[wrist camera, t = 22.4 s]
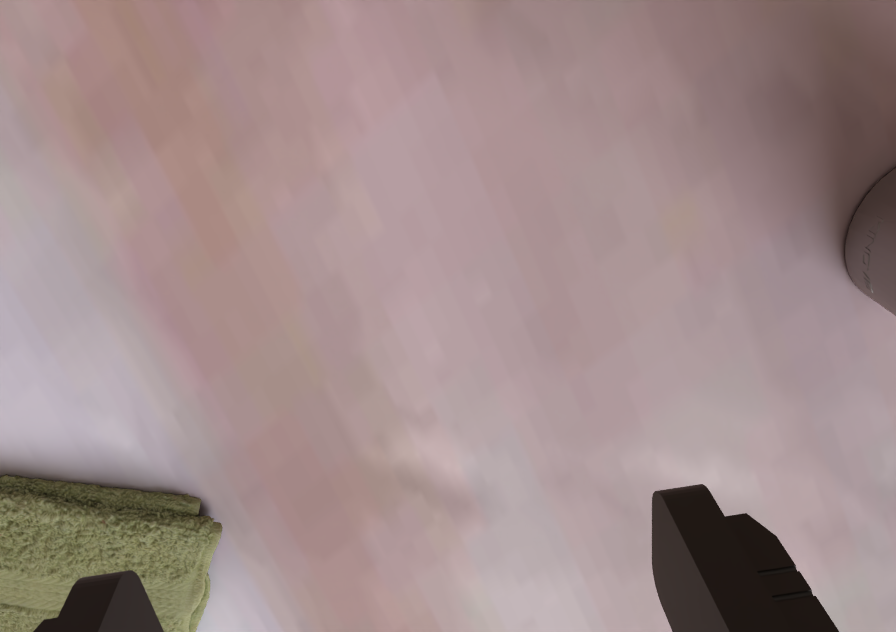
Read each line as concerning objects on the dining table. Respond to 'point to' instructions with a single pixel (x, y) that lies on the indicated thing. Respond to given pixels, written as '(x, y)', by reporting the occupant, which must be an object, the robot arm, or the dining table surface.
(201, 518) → the washcloth
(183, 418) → the dining table surface
